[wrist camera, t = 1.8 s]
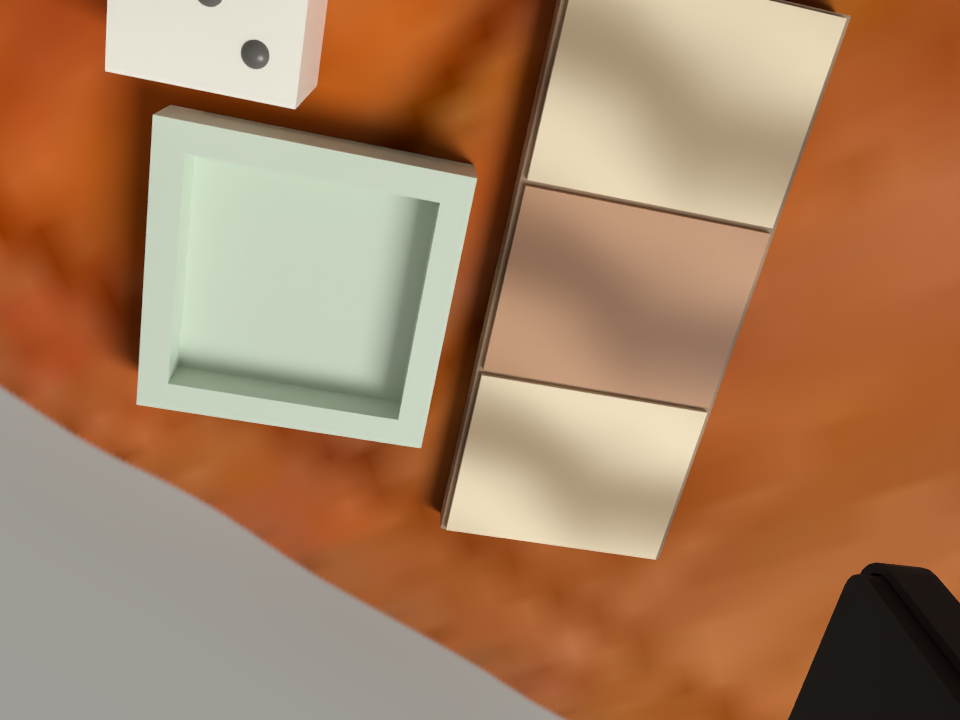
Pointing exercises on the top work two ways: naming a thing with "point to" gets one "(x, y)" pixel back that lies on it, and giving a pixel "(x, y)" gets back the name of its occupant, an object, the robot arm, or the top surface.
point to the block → (220, 45)
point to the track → (631, 261)
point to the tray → (297, 276)
